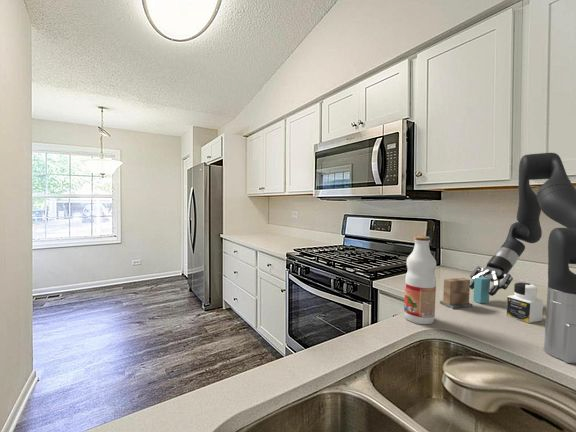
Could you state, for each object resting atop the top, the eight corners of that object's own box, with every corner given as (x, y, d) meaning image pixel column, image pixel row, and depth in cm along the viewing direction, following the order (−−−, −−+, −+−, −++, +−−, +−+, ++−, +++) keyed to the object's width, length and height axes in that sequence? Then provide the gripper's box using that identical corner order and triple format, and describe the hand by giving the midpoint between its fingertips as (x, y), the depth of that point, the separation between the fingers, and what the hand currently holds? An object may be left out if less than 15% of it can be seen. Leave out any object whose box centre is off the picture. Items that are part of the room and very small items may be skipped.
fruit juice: (435, 327, 91) (439, 239, 90) (403, 321, 95) (406, 237, 93) (433, 316, 100) (437, 236, 98) (404, 312, 103) (407, 234, 102)
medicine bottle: (505, 315, 102) (507, 282, 101) (519, 313, 104) (521, 280, 104) (528, 323, 95) (530, 287, 95) (542, 320, 98) (544, 285, 97)
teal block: (481, 299, 117) (483, 276, 117) (488, 302, 114) (490, 278, 114) (473, 300, 116) (474, 277, 115) (480, 303, 113) (481, 279, 113)
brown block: (458, 301, 116) (460, 276, 115) (472, 306, 110) (473, 280, 109) (439, 303, 113) (441, 278, 112) (452, 309, 107) (453, 282, 107)
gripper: (481, 252, 123) (459, 280, 121) (516, 258, 110) (492, 290, 107) (490, 263, 125) (468, 291, 122) (525, 271, 112) (502, 303, 109)
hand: (479, 291), depth 115 cm, fingers open, 8 cm apart
